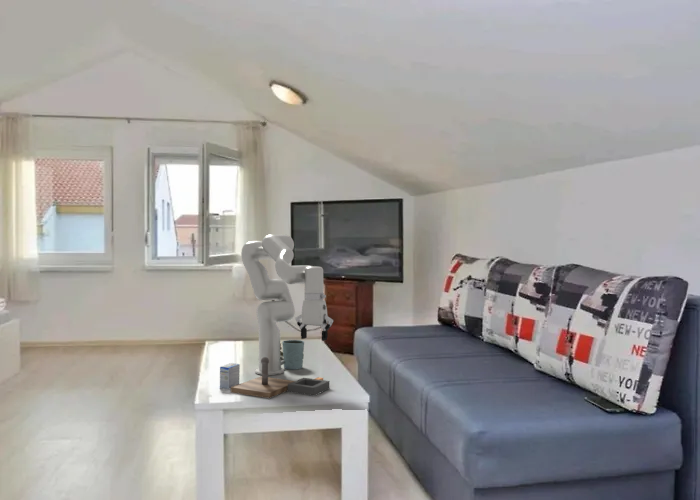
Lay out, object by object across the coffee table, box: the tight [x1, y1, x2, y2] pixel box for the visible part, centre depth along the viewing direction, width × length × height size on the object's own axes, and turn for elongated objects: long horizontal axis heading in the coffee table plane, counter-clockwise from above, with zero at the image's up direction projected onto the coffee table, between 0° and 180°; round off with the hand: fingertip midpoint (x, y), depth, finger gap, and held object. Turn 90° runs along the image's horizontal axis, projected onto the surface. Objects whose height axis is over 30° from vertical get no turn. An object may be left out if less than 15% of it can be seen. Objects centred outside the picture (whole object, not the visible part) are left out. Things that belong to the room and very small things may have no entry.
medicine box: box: [219, 362, 241, 390], centre depth 237 cm, size 8×4×9 cm, turn 159°
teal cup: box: [281, 339, 305, 370], centre depth 272 cm, size 10×10×12 cm
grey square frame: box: [287, 376, 330, 396], centre depth 234 cm, size 16×12×3 cm
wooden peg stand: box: [230, 357, 295, 399], centre depth 233 cm, size 20×18×13 cm
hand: (314, 339), depth 238 cm, fingers open, 9 cm apart
